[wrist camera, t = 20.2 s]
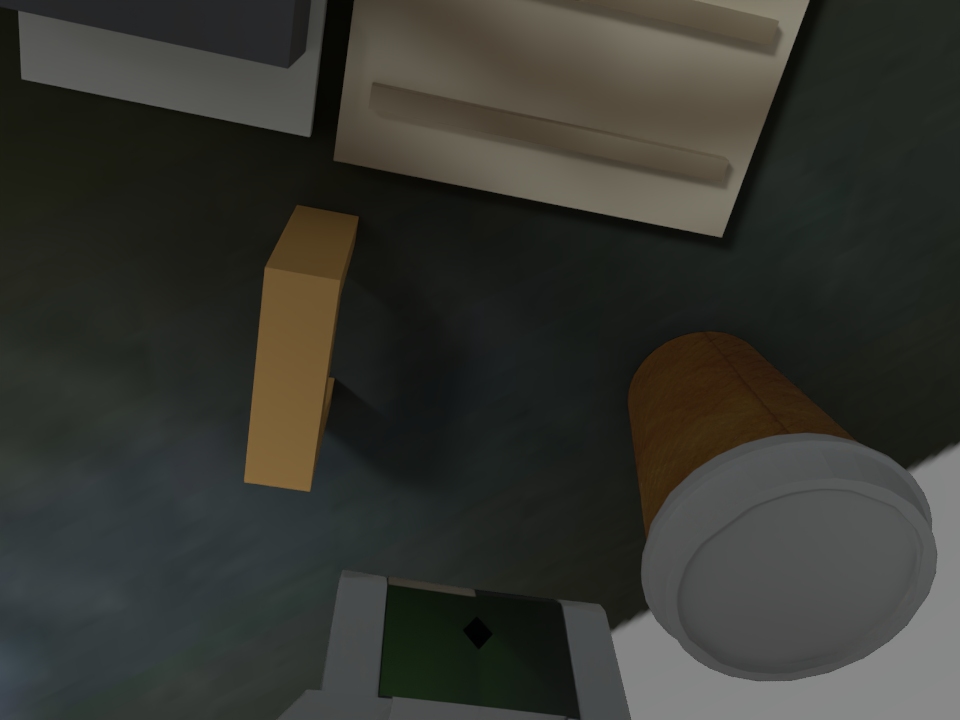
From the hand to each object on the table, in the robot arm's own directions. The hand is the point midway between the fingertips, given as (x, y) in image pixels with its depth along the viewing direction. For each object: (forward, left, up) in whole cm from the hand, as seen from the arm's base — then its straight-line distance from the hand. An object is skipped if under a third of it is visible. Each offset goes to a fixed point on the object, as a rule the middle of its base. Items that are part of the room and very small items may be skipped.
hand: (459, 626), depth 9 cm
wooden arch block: (+8, -4, -24) cm, 26 cm away
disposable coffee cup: (+9, +13, -24) cm, 29 cm away
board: (-4, +3, -24) cm, 25 cm away
